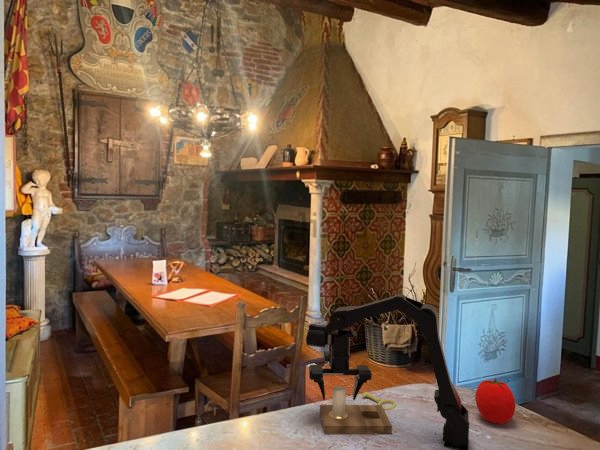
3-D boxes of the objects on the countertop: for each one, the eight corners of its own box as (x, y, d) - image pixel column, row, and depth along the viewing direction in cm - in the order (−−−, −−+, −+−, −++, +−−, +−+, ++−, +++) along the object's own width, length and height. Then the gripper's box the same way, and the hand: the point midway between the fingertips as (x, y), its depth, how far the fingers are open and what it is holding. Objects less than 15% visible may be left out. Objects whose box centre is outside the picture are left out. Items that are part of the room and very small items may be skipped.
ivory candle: (346, 412, 146) (347, 387, 146) (342, 418, 143) (343, 392, 142) (334, 410, 148) (335, 385, 147) (330, 415, 144) (331, 389, 144)
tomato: (504, 434, 141) (506, 390, 140) (466, 418, 150) (468, 378, 149) (522, 423, 148) (524, 381, 147) (485, 409, 158) (487, 370, 157)
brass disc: (350, 412, 147) (350, 412, 147) (344, 420, 141) (344, 420, 141) (332, 409, 149) (332, 408, 149) (325, 417, 144) (325, 416, 144)
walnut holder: (381, 412, 153) (381, 405, 153) (391, 434, 139) (392, 425, 139) (319, 412, 152) (320, 404, 152) (324, 434, 138) (324, 425, 138)
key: (364, 396, 166) (364, 390, 166) (397, 405, 160) (398, 399, 160) (355, 404, 160) (355, 398, 160) (390, 413, 154) (390, 407, 153)
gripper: (365, 341, 153) (364, 389, 154) (308, 341, 152) (306, 388, 153) (372, 353, 142) (371, 404, 142) (310, 352, 141) (309, 403, 142)
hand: (338, 399), depth 145 cm, fingers open, 9 cm apart
